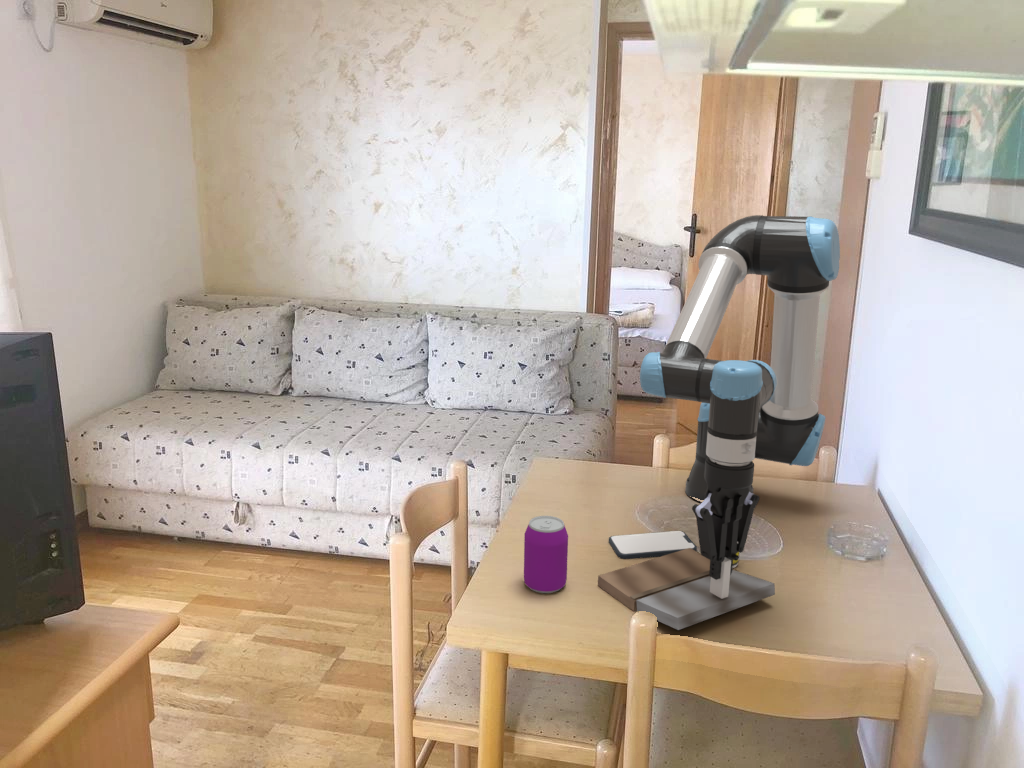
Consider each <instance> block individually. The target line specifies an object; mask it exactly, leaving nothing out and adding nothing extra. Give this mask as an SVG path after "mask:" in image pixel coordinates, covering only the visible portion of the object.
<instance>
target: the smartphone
mask: <svg viewBox="0 0 1024 768" xmlns="http://www.w3.org/2000/svg"><path fill="white" fill-rule="evenodd" d="M608 544H609V545H610V547H611V548H612V550H613V552H614V553H615V555H616V556H617V558H619V559H621V560H635V559H648V558H649V559H651V558H658V557H661V556H664V555H668V554H671V553H674V552H678V551H681V550H684V549H688V548H691V549H693V550H695V551H696V552H698V547H697V545H696V544H695V542H694V541H693V540H692V538H690V537H689V536H688V534H687V533H686V532H685V531H683V530H671V531H670V530H669V531H657V532H654V531H653V532H645V533H633V534H632V533H630V534H620V535H619V534H618V535H617V534H616V535H611V536H610V537H608Z"/></svg>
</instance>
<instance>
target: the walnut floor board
mask: <svg viewBox="0 0 1024 768" xmlns="http://www.w3.org/2000/svg"><path fill="white" fill-rule="evenodd" d="M709 571H710V559H708V558H706V557H704V556H702V555H701V552H698V551H697V552H696V551H695V550H693V549H691V548H688V549H684V550H681V551H678V552H674V553H671V554H668V555H664V556H661V557H653V558H652V559H651V558H650V559H648V560H645V561H641V562H638V563H635V564H631V565H628V566H625V567H622V568H618V569H615V570H612V571H609V572H605V573H603V574H599V575H597V577H598V578H597V586H598V587H599V588H601V589H602V590H603V591H605V592H606V593H607V594H609V595H610V596H611V597H613V598H615V599H616V600H617V601H618V602H620V603H621V604H623V605H624V606H625V607H629V608H628V609H630V610H631V611H633V612H637V602H636V600H639V599H642V598H645V597H648V596H651V595H654V594H657V593H660V592H663V591H666V590H669V589H672V588H675V587H678V586H681V585H684V584H687V583H690V582H693V581H696V580H699V579H702V578H705V577H708V576H710V575H709Z"/></svg>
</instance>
